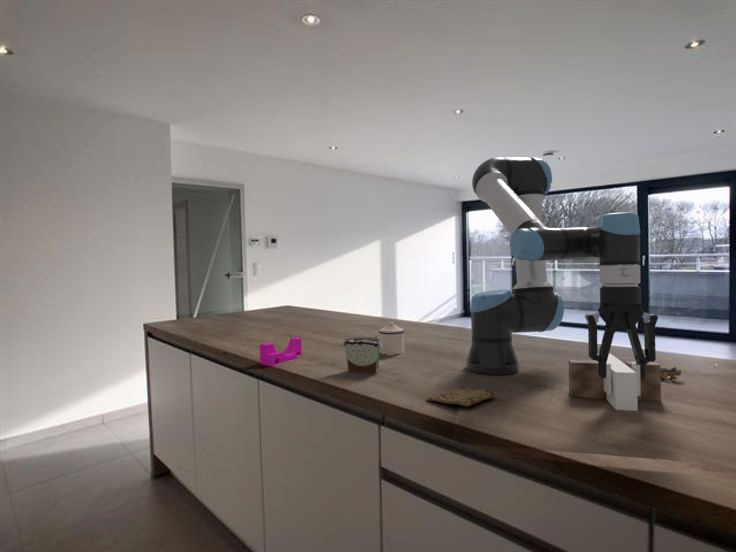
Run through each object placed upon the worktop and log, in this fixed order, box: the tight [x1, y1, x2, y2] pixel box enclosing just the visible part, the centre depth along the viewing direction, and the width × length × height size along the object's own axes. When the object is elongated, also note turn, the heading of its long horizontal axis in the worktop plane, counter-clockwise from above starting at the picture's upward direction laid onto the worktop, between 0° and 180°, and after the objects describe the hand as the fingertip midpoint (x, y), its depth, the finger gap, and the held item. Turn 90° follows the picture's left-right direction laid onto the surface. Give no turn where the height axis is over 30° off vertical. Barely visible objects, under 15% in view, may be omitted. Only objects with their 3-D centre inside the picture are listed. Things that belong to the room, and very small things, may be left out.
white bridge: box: [598, 352, 639, 412], centre depth 95 cm, size 18×4×8 cm, turn 165°
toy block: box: [259, 337, 303, 367], centre depth 141 cm, size 15×6×8 cm, turn 141°
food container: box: [342, 336, 382, 375], centre depth 126 cm, size 12×6×10 cm, turn 65°
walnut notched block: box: [568, 359, 662, 402], centre depth 95 cm, size 18×3×8 cm, turn 75°
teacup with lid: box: [373, 321, 405, 356], centre depth 149 cm, size 12×9×12 cm
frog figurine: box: [660, 366, 682, 385], centre depth 110 cm, size 12×12×4 cm
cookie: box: [425, 387, 498, 407], centre depth 97 cm, size 12×12×2 cm
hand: (621, 392), depth 89 cm, fingers open, 5 cm apart
